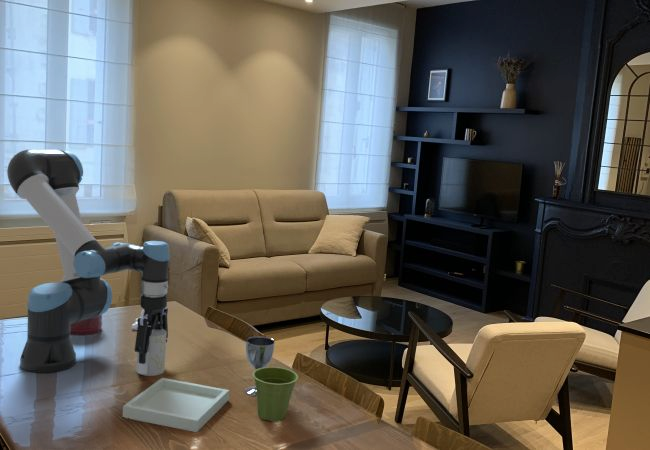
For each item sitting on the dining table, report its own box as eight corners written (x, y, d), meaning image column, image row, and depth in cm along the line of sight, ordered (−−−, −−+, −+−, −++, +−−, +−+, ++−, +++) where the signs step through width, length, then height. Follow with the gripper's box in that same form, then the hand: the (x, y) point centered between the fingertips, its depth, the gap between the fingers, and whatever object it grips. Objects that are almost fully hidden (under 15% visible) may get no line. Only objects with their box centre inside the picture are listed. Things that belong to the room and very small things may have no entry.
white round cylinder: (156, 377, 182) (158, 337, 180) (131, 373, 184) (133, 333, 182) (169, 368, 190) (171, 329, 188) (144, 363, 192) (146, 326, 190)
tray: (122, 417, 156) (123, 405, 155) (161, 387, 175) (162, 377, 175) (196, 432, 151) (197, 420, 151) (228, 400, 171) (229, 390, 170)
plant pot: (277, 430, 156) (280, 387, 154) (240, 416, 162) (243, 375, 160) (303, 415, 166) (307, 374, 164) (268, 402, 172) (270, 363, 170)
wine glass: (275, 389, 181) (279, 339, 179) (263, 399, 173) (267, 347, 171) (250, 383, 183) (253, 334, 181) (238, 393, 176) (241, 342, 174)
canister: (93, 337, 211) (95, 286, 209) (55, 333, 211) (56, 283, 209) (107, 325, 224) (109, 277, 222) (71, 322, 224) (73, 274, 222)
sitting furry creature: (136, 322, 231) (137, 290, 229) (159, 323, 232) (161, 292, 230) (130, 330, 221) (132, 297, 220) (155, 331, 222) (157, 298, 221)
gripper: (147, 304, 173) (143, 382, 176) (182, 288, 193) (178, 358, 196) (123, 300, 174) (120, 378, 177) (160, 284, 195) (156, 355, 198)
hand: (150, 368), depth 187 cm, fingers closed on white round cylinder, 8 cm apart
